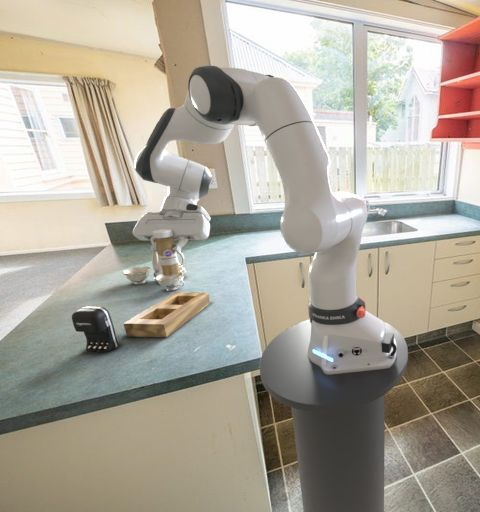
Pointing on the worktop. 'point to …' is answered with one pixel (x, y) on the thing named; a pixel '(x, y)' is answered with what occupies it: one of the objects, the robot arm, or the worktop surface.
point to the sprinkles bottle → (166, 252)
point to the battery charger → (96, 328)
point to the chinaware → (157, 274)
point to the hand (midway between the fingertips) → (165, 251)
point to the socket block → (166, 315)
